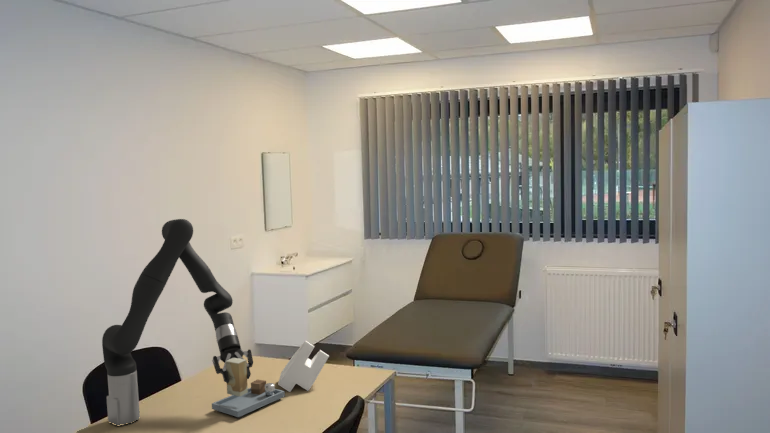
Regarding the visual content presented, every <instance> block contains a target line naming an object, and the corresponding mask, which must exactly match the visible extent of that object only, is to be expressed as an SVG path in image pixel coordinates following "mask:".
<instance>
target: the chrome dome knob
mask: <svg viewBox="0 0 770 433" xmlns="http://www.w3.org/2000/svg"><path fill="white" fill-rule="evenodd" d="M275 389H276V387H275V383H274V382H268V383H267V382H266V384H265V396H266V397H270V396H272V395H274V394H275Z"/></svg>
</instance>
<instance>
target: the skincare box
mask: <svg viewBox="0 0 770 433" xmlns="http://www.w3.org/2000/svg"><path fill="white" fill-rule="evenodd" d="M244 359H245V358H244ZM244 359H240V358H231V359H229V360H227V361H226V368H227V369H226V371H227V373H228V377H229V383H226V394H227V395H230V396H231V395H235V396H242V395H244V394H246V393H248V388H249V387H248V379H247V363H248V360H247V359H245V360H244Z"/></svg>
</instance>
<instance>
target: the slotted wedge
mask: <svg viewBox="0 0 770 433" xmlns="http://www.w3.org/2000/svg"><path fill="white" fill-rule="evenodd" d="M314 348H315V345H313V344H312V343H310V342H309V341H307V340H304V342H302V344H301V345H300V347H299V348H298V349H297V350H296V351H295V353H293V355H292V357H291V358H290V359H289V360H288V362H287V363H286V365H285V366H284V368H283V369H282V371H281V372H280V375H279V378H278V383H277V386H280V387H281V388H283V389H284V390H286V391H287V392H289V393H290V392H291V391H292V390H293V389H294V387H295V385H298V386H300V387H301V388H302V389H304V390H306V392H307V391H310V389H311V388H312V387H313V385H314V383H315V382H316V380H317V378H318V376H319V374H320V373H321V371H322V369H323V368H324V366H325V364H326V363H327V361H328V359H329V358H330V355H329V354H327V353H326V352H324V351H323V350H321V349H319V351H318V352H317V353H316V354H315V355H314V356H313V358H311V359H310V355H311V353H312V351H313V350H314Z"/></svg>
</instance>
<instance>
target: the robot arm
mask: <svg viewBox="0 0 770 433" xmlns="http://www.w3.org/2000/svg"><path fill="white" fill-rule="evenodd" d="M161 235H162V237H163V240H164V242H163V243H162V245H161V246H160V249H159V251H158V252H157V253H156V254H155V256H153V258H152V259H151V260H150V261H149V262H148V263H147V264H146V265H145V267H144V268H143V270H142V272H141V273H140V275H139V277H138V279H137V281H136V282H135V285H134V287H133V290H132V293H131V294H132V295H131V303H130V307H129V311H128V313H127V316H125V318H124V321H123V323H122V324H114V325H110V326H109V327H107V329H106V330H104V333H103V335H102V338H101V344H102V346H101V347H102V355H103V363H104V366H105V368H106V371H107V372H106V374H107V386H108V387H107V388H108V395H106V407H107V408H106V410H107V411H106V412H107V420H108V421H109V422H111V423H114V424H116V425H120V424H126V423H131V422H133V421H136V420H138V419H139V417H140V418H141V416H140V400H139V399H140V398H139V386H138V383H139V382H138V371H137V370H138V369H137V362H136V360H135V358H133V356H132V352H133V351H135V349H136V348H137V346H138V344H139V342H140V339H141V338H142V337H141V336H142V335H143V332H144V329H145V327H146V324H147V322H148V320H149V317H150V316H151V314H152V312H153V310H154V308H155V305H156V304H157V301H158V300H159V298H160V297H161V294H162V293H163V291H164V289H165V288H166V285H167V283H168V280H169V278H170V277H171V274H172V273H173V271H174V268H175V266H176V264H177V262H178V260H180V261H181V262H182V264H183V266H184V267H185V268H186V270H187V271H188V273H189V275H190V276H191V278H192V279H193V282H194V283H195V285H196V286H197V288H198V291H200V292H201V293H203V294H207V293H214V294H213V295H209V297H206V298H205V299H204V302H203V307H204V310H205V311H206V312H207V314H208V316H209V317H210V319H211V321H212V324H213V328H214V330H215V337H216V338H215V339H216V343H217V347H218V350H219V354H220V355H218V356H216V355H213V357H212V360H211V361H212V364H213V366H214V370H215V372H216V374H217V375H219V374H220V375H222V377H223V382H224V383H226V384H227V383H229V377H228V373H227V371H226V369H227V368H226V361H227V360H229V359H231V358H240V359H244V360H247V380H249V379H250V377H251V376H252V373H251V370H250V368H252V367H253V365H254V360H253V355H252V350H251V349H247V350H245V351H244V350H243V348H242V347H241V343H240V340H239V336H238V331H237V329H236V327H235V324H234V320H233V316H232V315H231V313H229V312H223V311H225V310H227V309H229V308H232V306H233V301H234V300H233V297H232V295H231V294H230V293H229V292H228V291H227V290H226V289H225V288H224V287H223V286H222V285H221V284H220V283H219V282H218V281H217V279H216V277H215V276H214V274H213V272H212V271H211V269H210V268H209V266H208V265H207V263H206V262H205V261H204V260H203V259H202V258H201V256H199V255H198V253H197V252H196V251H195V250H194V248H193V246H192V245H191V243H190V241H191V239H192V238H193V235H194V225H193V224H192V223H191V222H190V221H189V220H188V219H184V218H177V219H176V218H175V219H172V220H168V221H167V222H165V223H164V224H163V225H162V228H161ZM243 356H245V358H243ZM220 361H221V362H222V363H223V367H222V368H221V367H220V366H221V365H220ZM139 420H140V419H139ZM139 420H138V421H139ZM136 422H137V421H136ZM131 424H132V423H131Z"/></svg>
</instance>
